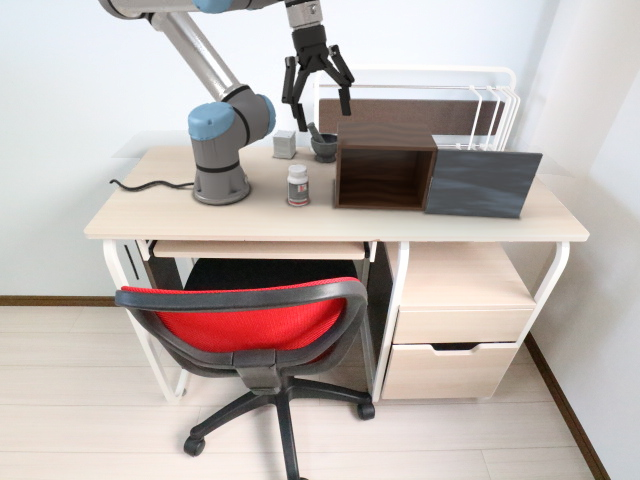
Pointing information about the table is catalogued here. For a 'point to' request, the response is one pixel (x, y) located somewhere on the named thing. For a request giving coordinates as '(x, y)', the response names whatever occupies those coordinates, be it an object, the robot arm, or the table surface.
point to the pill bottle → (298, 185)
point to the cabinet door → (481, 182)
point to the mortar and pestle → (323, 144)
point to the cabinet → (383, 165)
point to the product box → (284, 144)
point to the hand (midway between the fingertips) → (326, 123)
